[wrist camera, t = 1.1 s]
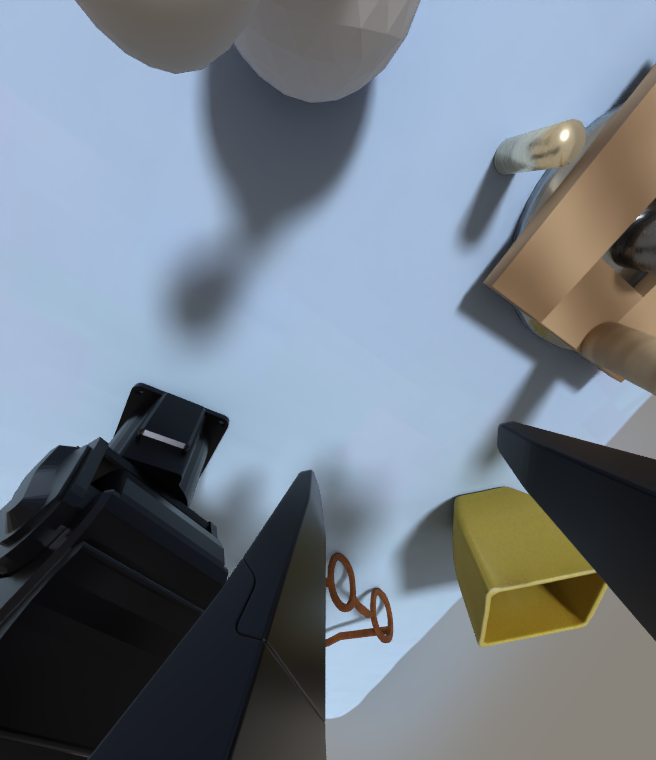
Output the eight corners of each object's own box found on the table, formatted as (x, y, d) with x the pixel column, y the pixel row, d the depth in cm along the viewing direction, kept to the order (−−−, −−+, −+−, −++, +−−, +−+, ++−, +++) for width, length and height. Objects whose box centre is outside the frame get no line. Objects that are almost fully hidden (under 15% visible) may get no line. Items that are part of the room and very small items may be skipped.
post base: (593, 376, 24) (644, 405, 21) (424, 254, 19) (454, 266, 15) (788, 193, 19) (901, 191, 15) (633, -50, 13) (753, -139, 10)
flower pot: (518, 527, 33) (588, 629, 25) (434, 543, 33) (479, 650, 25) (530, 465, 28) (620, 566, 21) (434, 485, 28) (487, 592, 21)
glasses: (390, 595, 38) (402, 646, 33) (299, 633, 40) (299, 685, 36) (332, 541, 32) (338, 595, 27) (229, 590, 34) (220, 646, 30)
